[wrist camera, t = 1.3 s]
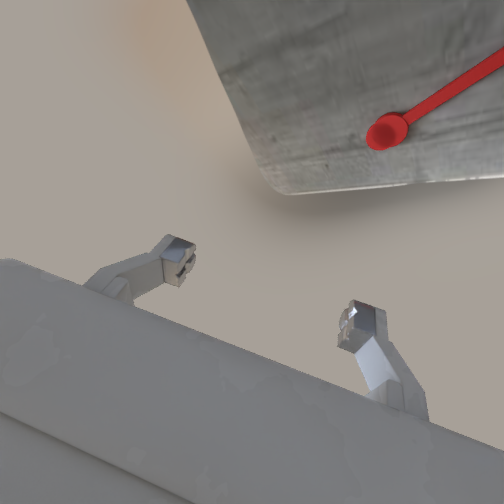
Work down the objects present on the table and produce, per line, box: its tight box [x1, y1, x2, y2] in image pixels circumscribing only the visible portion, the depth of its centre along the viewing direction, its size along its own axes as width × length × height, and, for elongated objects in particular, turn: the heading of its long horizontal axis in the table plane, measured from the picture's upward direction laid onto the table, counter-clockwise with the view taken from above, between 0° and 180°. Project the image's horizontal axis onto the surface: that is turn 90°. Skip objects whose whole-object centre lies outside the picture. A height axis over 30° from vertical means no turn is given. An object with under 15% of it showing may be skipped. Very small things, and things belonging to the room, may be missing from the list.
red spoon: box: [366, 47, 504, 150], centre depth 36 cm, size 19×5×1 cm, turn 142°
